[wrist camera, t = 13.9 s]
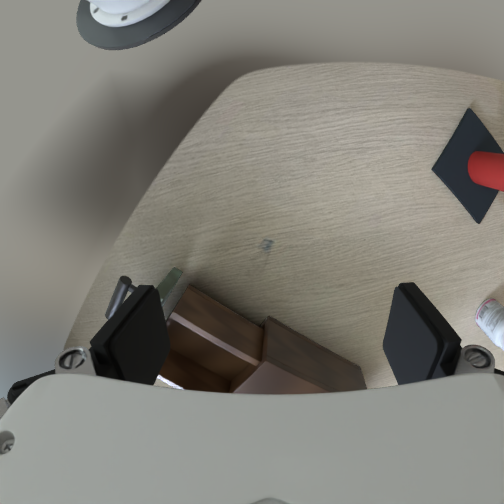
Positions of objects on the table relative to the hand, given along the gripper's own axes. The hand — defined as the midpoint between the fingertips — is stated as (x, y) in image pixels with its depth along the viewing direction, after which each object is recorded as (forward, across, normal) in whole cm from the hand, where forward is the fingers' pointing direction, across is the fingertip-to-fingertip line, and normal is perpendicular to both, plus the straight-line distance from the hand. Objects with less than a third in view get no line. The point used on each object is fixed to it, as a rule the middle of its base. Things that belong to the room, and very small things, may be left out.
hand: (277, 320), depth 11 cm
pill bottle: (+20, -32, +14) cm, 40 cm away
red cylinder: (+19, -24, -6) cm, 32 cm away
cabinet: (+19, -2, +22) cm, 29 cm away
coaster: (+20, -24, -6) cm, 32 cm away
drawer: (+19, +10, +13) cm, 25 cm away
